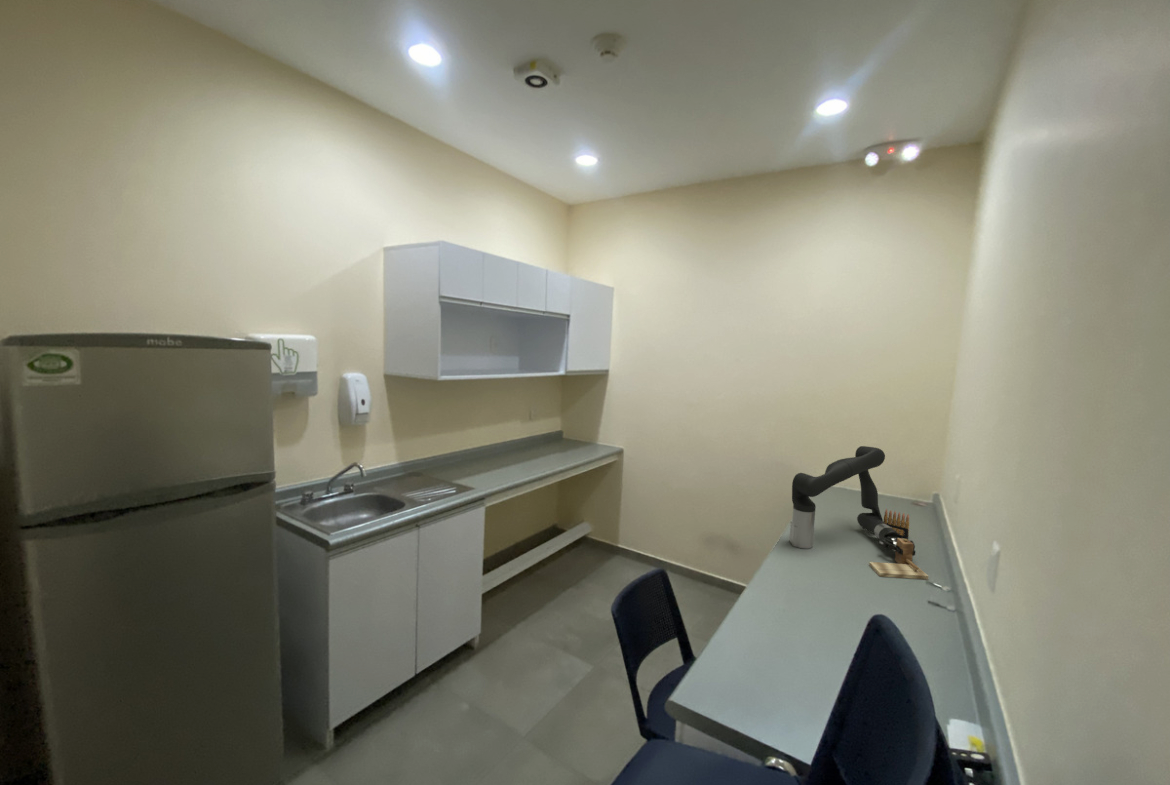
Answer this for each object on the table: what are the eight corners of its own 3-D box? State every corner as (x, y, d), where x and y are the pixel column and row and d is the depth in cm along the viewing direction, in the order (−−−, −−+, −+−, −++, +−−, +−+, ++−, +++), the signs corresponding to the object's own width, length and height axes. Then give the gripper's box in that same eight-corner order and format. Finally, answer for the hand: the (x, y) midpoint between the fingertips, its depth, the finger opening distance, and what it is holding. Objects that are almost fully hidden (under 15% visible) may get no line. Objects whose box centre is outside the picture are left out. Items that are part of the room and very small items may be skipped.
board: (879, 576, 188) (880, 572, 188) (869, 565, 197) (869, 561, 197) (928, 579, 186) (928, 575, 186) (915, 568, 195) (915, 564, 195)
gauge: (911, 575, 189) (913, 550, 188) (894, 560, 201) (897, 536, 200) (921, 576, 189) (924, 550, 187) (904, 560, 201) (907, 537, 199)
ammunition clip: (908, 538, 223) (910, 514, 221) (907, 539, 221) (910, 515, 220) (882, 531, 230) (884, 508, 228) (881, 532, 229) (883, 509, 227)
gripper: (871, 526, 212) (890, 543, 195) (904, 528, 210) (927, 545, 194) (869, 541, 213) (889, 560, 196) (903, 543, 211) (925, 562, 195)
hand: (908, 553), depth 195 cm, fingers closed on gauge, 4 cm apart
